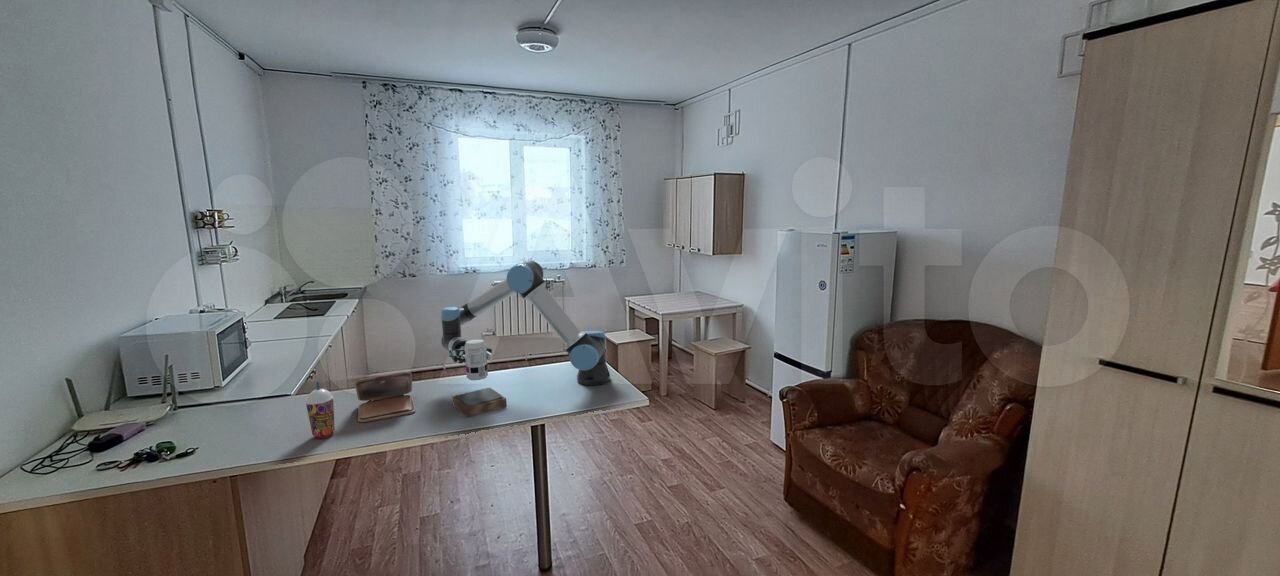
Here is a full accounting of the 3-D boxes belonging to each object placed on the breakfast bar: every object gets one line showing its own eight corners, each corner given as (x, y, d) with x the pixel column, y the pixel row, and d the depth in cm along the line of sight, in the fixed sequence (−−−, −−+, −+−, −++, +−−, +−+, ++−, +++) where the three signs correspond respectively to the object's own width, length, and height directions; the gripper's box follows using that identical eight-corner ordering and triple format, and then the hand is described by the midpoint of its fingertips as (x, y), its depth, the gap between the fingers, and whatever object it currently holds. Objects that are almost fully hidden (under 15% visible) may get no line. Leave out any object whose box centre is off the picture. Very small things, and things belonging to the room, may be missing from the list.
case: (413, 396, 217) (409, 360, 214) (416, 413, 198) (412, 374, 196) (358, 406, 207) (354, 368, 205) (357, 425, 189) (352, 384, 186)
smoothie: (317, 442, 174) (310, 387, 171) (305, 437, 179) (298, 383, 175) (342, 433, 181) (336, 380, 178) (330, 428, 186) (323, 376, 182)
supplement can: (462, 379, 201) (459, 343, 198) (476, 373, 208) (473, 337, 206) (478, 382, 198) (476, 344, 195) (492, 375, 205) (490, 339, 203)
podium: (490, 395, 216) (490, 386, 215) (506, 406, 204) (505, 397, 203) (453, 404, 206) (452, 395, 206) (467, 417, 194) (466, 407, 193)
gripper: (484, 351, 222) (506, 363, 205) (435, 360, 210) (454, 374, 192) (483, 334, 221) (505, 345, 204) (434, 343, 208) (453, 355, 191)
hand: (480, 359), depth 198 cm, fingers closed on supplement can, 8 cm apart
